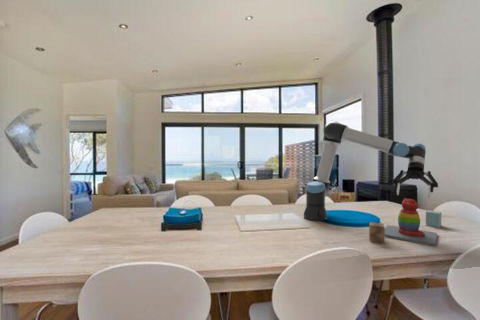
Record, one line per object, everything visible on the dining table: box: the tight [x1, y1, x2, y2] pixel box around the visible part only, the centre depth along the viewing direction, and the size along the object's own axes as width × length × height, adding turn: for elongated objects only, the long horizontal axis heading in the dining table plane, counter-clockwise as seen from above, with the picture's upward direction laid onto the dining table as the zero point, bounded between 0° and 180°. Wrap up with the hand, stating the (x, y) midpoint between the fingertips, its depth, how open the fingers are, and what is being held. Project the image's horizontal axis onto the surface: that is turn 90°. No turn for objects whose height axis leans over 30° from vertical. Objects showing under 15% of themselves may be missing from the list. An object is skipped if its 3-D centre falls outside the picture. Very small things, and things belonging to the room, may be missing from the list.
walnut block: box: [368, 221, 386, 245], centre depth 117 cm, size 6×6×8 cm
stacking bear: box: [397, 197, 425, 237], centre depth 124 cm, size 11×10×18 cm
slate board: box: [385, 224, 438, 247], centre depth 125 cm, size 22×20×1 cm
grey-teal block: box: [425, 210, 442, 228], centre depth 142 cm, size 6×6×8 cm
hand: (412, 195), depth 128 cm, fingers open, 13 cm apart
